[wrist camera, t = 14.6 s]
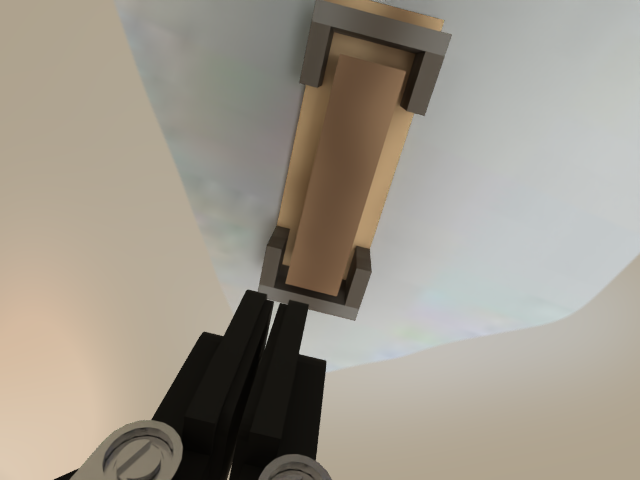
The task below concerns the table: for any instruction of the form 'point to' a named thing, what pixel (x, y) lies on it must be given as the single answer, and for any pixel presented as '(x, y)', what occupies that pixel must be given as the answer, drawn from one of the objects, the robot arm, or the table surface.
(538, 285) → the table surface
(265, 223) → the table surface
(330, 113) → the slat
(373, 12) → the rail
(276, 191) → the table surface
